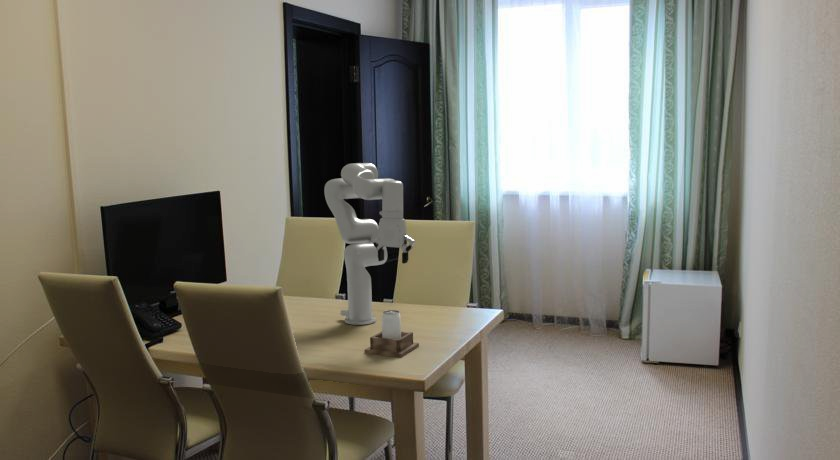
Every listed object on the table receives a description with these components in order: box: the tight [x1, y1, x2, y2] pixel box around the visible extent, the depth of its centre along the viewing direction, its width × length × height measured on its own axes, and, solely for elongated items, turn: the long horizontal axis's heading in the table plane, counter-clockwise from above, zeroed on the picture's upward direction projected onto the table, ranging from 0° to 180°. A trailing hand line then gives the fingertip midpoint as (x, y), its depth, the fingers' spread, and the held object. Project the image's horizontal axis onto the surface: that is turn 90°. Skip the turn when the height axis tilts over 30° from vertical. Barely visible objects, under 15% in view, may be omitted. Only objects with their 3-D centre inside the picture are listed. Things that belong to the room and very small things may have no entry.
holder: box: [364, 330, 420, 358], centre depth 255 cm, size 14×14×5 cm
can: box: [381, 309, 402, 339], centre depth 255 cm, size 6×6×12 cm
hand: (393, 261), depth 269 cm, fingers open, 9 cm apart
